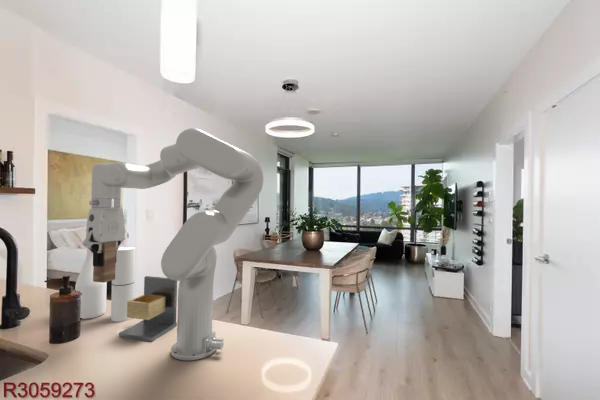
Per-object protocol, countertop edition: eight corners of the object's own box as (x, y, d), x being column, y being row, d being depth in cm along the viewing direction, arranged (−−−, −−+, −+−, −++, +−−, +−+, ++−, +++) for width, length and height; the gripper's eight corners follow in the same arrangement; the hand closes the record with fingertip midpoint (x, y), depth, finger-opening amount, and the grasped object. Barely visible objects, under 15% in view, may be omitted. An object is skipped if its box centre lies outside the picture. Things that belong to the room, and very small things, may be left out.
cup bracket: (176, 326, 103) (177, 278, 103) (152, 341, 91) (153, 288, 91) (146, 322, 106) (147, 275, 106) (118, 336, 94) (120, 284, 94)
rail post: (115, 279, 93) (116, 234, 93) (104, 282, 89) (105, 235, 89) (104, 278, 94) (105, 233, 94) (93, 281, 90) (94, 234, 90)
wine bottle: (112, 312, 114) (114, 232, 114) (87, 321, 105) (89, 235, 105) (93, 309, 117) (95, 231, 117) (68, 317, 108) (70, 234, 108)
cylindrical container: (115, 323, 104) (117, 250, 104) (107, 318, 108) (109, 248, 108) (137, 317, 110) (139, 248, 110) (128, 312, 114) (130, 246, 114)
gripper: (91, 204, 83) (90, 271, 83) (137, 204, 99) (136, 260, 99) (69, 204, 85) (68, 269, 84) (118, 204, 101) (116, 258, 101)
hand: (104, 263), depth 92 cm, fingers closed on rail post, 4 cm apart
